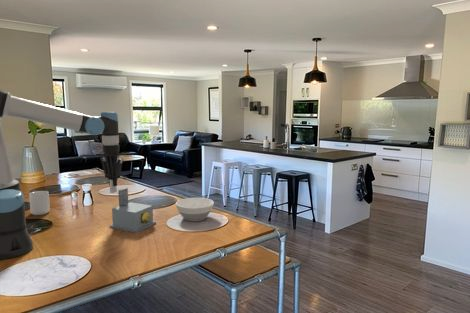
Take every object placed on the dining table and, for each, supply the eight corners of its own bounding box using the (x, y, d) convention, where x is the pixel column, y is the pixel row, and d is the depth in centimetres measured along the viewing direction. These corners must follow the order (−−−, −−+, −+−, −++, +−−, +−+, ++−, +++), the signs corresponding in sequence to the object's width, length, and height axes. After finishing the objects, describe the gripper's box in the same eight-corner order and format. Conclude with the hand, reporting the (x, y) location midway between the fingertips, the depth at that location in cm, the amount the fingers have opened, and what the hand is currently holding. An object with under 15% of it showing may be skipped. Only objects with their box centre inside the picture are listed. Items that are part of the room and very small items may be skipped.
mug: (49, 214, 176) (47, 193, 175) (29, 216, 173) (28, 195, 171) (51, 208, 187) (49, 188, 186) (32, 210, 184) (30, 190, 182)
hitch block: (156, 223, 163) (155, 205, 162) (136, 232, 151) (135, 213, 149) (130, 218, 170) (130, 201, 169) (109, 227, 158) (108, 208, 156)
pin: (150, 221, 159) (150, 210, 158) (143, 224, 154) (143, 213, 153) (122, 216, 166) (122, 206, 165) (114, 219, 162) (114, 208, 161)
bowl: (177, 226, 160) (177, 209, 158) (174, 213, 178) (173, 198, 177) (217, 222, 165) (217, 206, 164) (210, 211, 183) (209, 196, 182)
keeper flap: (127, 188, 162) (126, 187, 163) (120, 190, 158) (118, 190, 158) (128, 204, 163) (126, 203, 164) (120, 206, 159) (119, 206, 159)
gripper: (126, 144, 161) (129, 192, 164) (106, 142, 166) (109, 189, 170) (115, 145, 154) (117, 195, 157) (94, 144, 160) (97, 192, 163)
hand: (113, 192), depth 164 cm, fingers closed
